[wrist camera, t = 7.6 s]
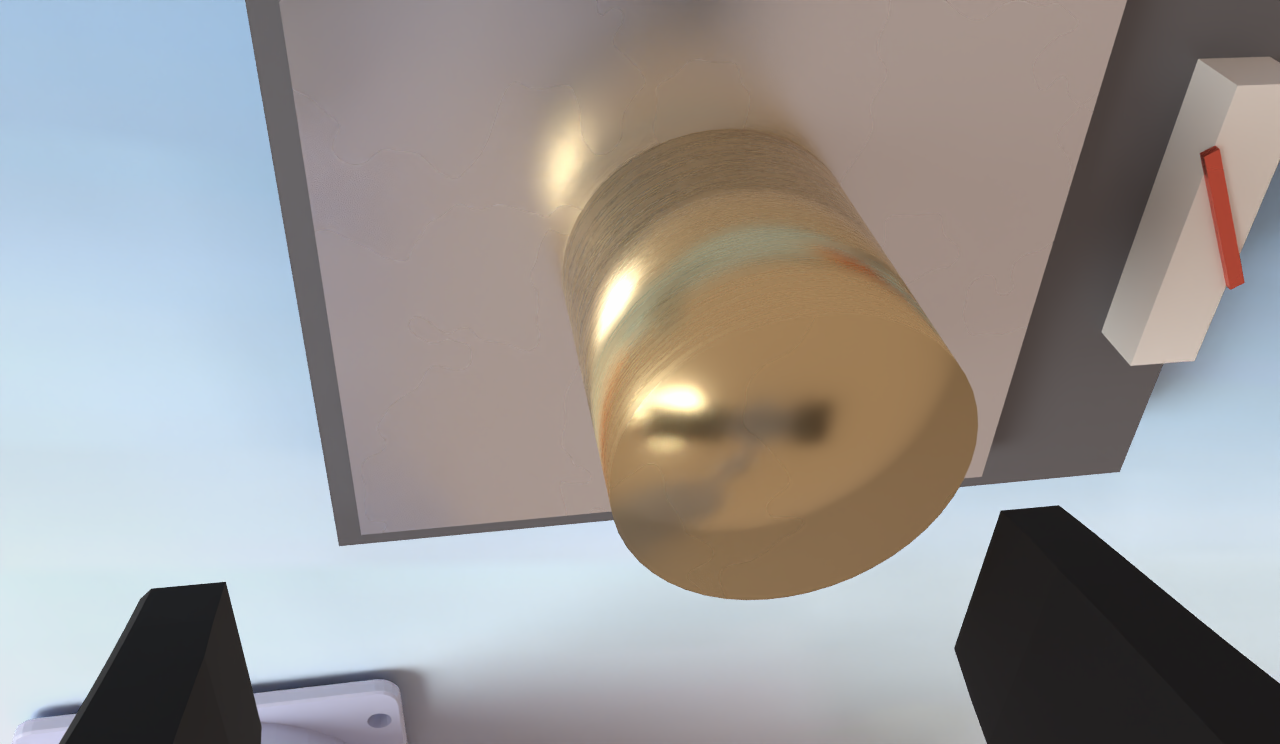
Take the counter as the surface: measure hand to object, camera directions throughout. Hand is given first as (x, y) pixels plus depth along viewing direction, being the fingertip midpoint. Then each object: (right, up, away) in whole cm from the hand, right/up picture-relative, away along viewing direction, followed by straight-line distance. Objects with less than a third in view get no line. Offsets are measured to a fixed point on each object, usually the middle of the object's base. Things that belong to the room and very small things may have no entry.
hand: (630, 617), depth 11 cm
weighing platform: (+1, +4, +6) cm, 8 cm away
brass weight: (+1, +4, +6) cm, 7 cm away
